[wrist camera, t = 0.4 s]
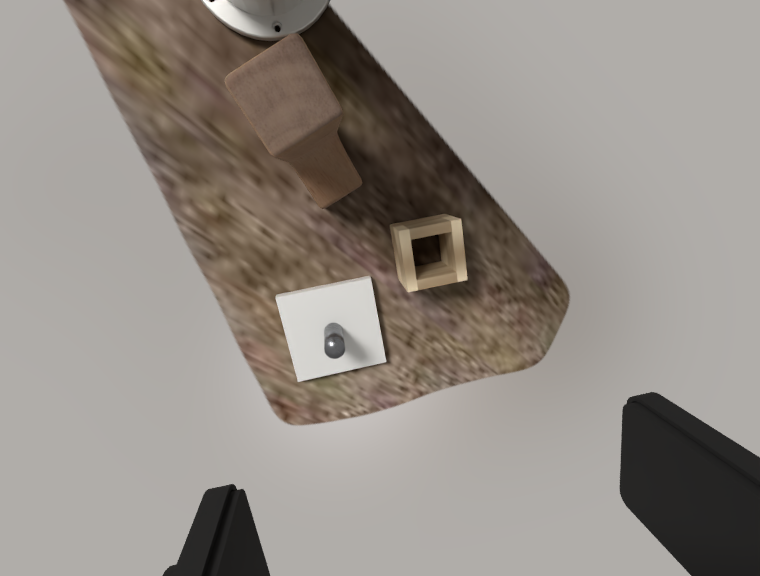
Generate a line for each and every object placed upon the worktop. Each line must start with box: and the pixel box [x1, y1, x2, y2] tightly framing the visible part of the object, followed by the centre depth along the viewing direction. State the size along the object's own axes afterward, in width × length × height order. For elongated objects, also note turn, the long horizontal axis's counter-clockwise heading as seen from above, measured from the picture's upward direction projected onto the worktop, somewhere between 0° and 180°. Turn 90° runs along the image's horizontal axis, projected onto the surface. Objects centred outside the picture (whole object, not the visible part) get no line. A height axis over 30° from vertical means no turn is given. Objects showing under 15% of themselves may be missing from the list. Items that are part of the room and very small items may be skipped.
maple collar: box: [390, 214, 467, 292], centre depth 39 cm, size 6×6×5 cm
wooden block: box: [225, 33, 363, 209], centre depth 29 cm, size 9×4×18 cm, turn 31°
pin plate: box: [276, 276, 386, 382], centre depth 40 cm, size 10×10×6 cm
